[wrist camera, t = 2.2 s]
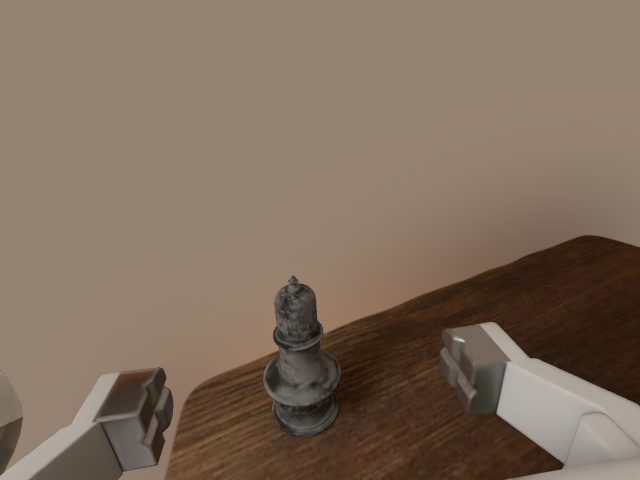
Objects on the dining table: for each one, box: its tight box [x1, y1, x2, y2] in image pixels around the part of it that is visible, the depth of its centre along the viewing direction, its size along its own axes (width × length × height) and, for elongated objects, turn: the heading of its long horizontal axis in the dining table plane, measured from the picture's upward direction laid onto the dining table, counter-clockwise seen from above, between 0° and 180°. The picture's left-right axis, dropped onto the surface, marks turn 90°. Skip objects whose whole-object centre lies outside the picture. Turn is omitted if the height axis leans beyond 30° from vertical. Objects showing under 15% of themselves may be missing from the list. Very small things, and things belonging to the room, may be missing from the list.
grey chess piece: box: [263, 276, 341, 437], centre depth 25 cm, size 6×6×12 cm
